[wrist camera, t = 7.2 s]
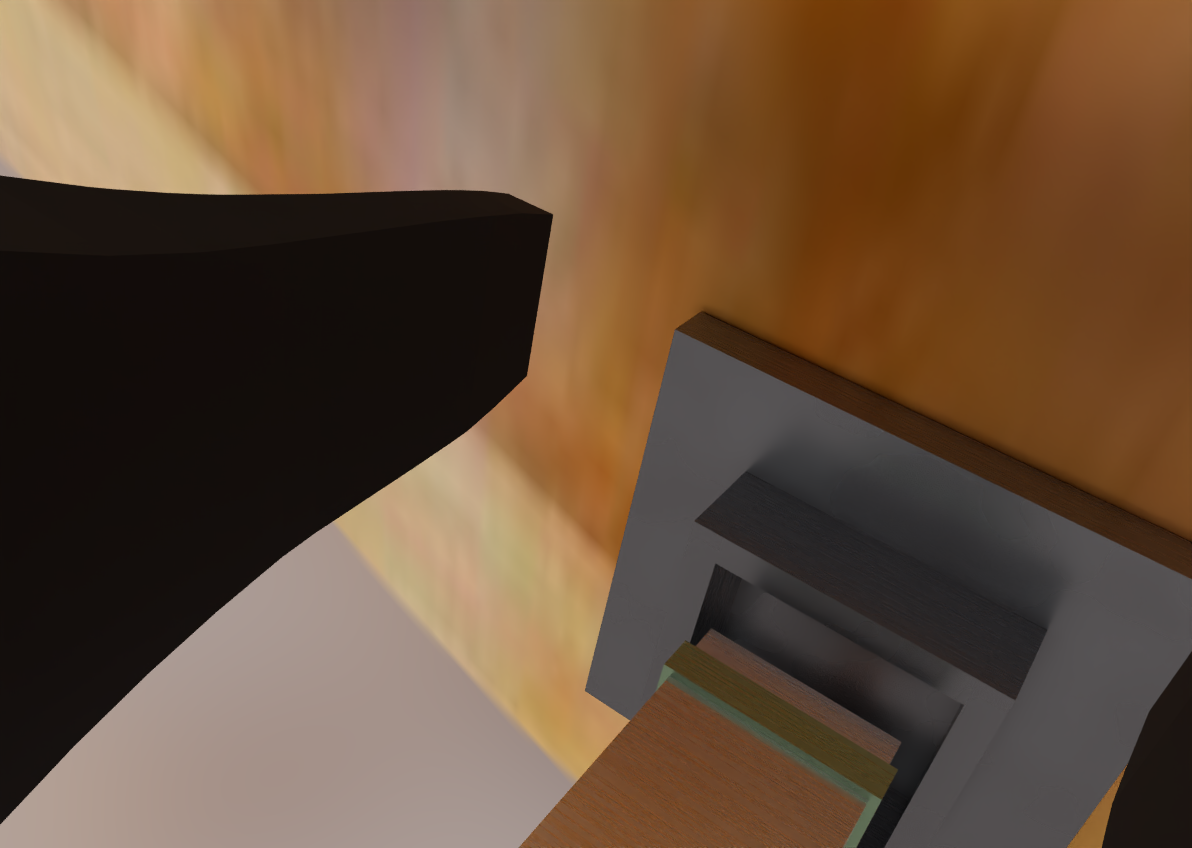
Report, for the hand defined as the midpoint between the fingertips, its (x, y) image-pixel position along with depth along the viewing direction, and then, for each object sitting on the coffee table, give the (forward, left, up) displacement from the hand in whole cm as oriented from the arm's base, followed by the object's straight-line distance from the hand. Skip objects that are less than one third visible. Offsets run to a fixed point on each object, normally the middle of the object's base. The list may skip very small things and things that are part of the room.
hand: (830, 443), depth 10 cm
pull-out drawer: (-7, +5, -4) cm, 10 cm away
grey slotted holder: (-7, +5, -8) cm, 12 cm away
